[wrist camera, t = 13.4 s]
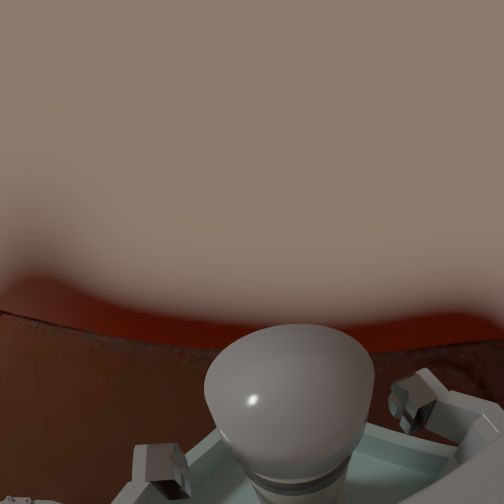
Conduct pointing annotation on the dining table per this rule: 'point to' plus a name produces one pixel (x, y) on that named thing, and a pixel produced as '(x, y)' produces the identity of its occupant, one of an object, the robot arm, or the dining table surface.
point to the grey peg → (292, 409)
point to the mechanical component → (25, 501)
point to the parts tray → (357, 479)
